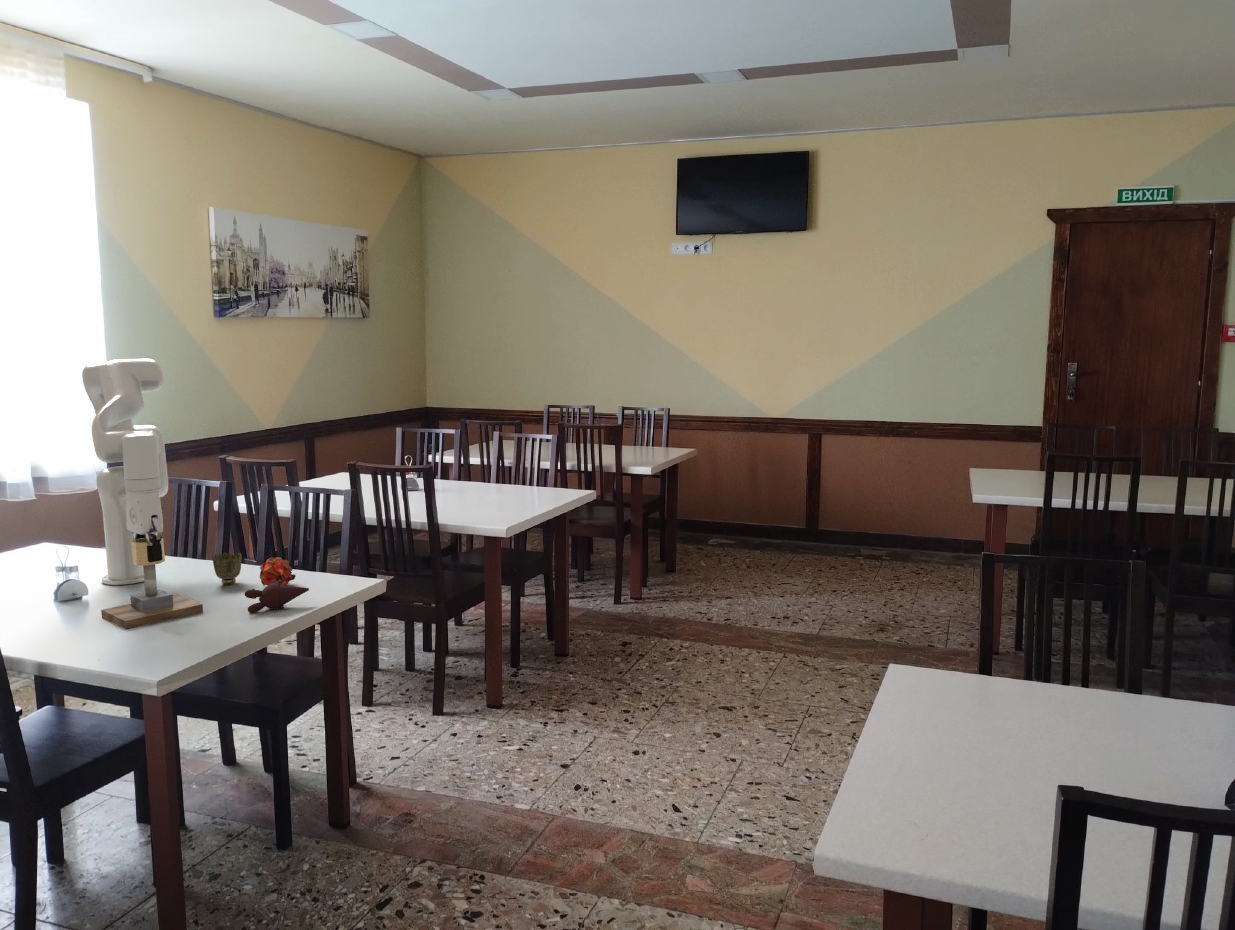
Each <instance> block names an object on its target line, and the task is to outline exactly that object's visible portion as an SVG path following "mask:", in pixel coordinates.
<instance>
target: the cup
mask: <svg viewBox="0 0 1235 930" xmlns="http://www.w3.org/2000/svg"><path fill="white" fill-rule="evenodd" d="M242 557H243V554H242V553H241V552H238V553H237V552H235V553H234V554H233V555H232V554H231V552H228V553H227V552H223V553H222V554H220V553H218V555H216V554H215V555H212V556H211V559H212V565H213V569H214V573H215V575H216V577H217V578H218V579H221V584H222V585H224V586H231V585H234V584H236V582H237V579H236V578H237V577H239V575H240V573H241V570H242ZM230 584H231V585H230Z"/></svg>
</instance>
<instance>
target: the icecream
mask: <svg viewBox="0 0 1235 930" xmlns="http://www.w3.org/2000/svg"><path fill="white" fill-rule="evenodd" d="M308 591H310V588H309V587H303V586H295V585H294V586H291V585H286V586H285V585H279V583H278V582H276V583H272V584H270V585H268V586H267V585H266V586H264V588H263V589H262V590H260V589H256V588H251V589H247V590H246V591H245V592H244V596H245V597H246V598H247V599H251V600H253V599H257V598H258V601H259V602H255V603H253V604H251V605H249V606H248V607H247V612H248V613H251V614H253V613H257V612H259V611H261V610H263V609H264V608H267V609H270V610H280V609H282V610H284V606H285V604H287V603H289V602H291V601H293V600H294V599H296V598H298V597H300V596H301V595H303V594H305V593H307V592H308Z"/></svg>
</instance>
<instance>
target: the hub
mask: <svg viewBox="0 0 1235 930" xmlns="http://www.w3.org/2000/svg"><path fill="white" fill-rule="evenodd" d="M152 537H153V536H151V539H152ZM161 540H162V544H161V546H162V560H161V561H156V562H148V557H147V546H148V542H147V538H140V539H135V540H133V541H131V548H132V560H133V564H134V565H137V566H145V565H154V564H155V565H158V564H162V563H164V562H166V556H165V554H166V553H165V544H164V542H165V541H164V538H163V537H162V539H161Z"/></svg>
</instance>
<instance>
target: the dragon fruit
mask: <svg viewBox="0 0 1235 930" xmlns="http://www.w3.org/2000/svg"><path fill="white" fill-rule="evenodd" d="M290 563H291V562H290V561H289V560H287V559H282V557H269V558H268V559H266V561H265V562H263V563H262V564H261V565H260V567H259V569H260V572H259V579H260V580H261V584H262V586H264V587H267V586H268V585H270V584H272V583H276V582H278V583H279V585H286V586H288V584H289V583H290V582H291V581H294V580H295V579H296V574H293V572H292V571H293V568H292V566H291V565H290Z"/></svg>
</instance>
